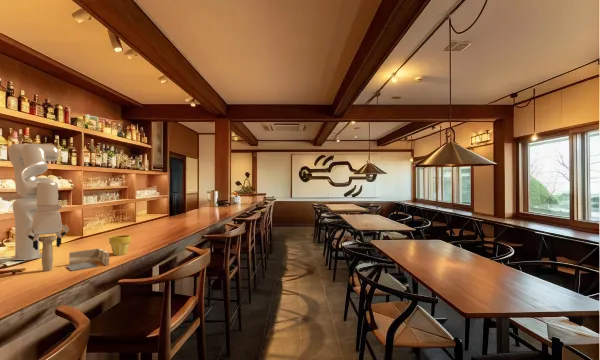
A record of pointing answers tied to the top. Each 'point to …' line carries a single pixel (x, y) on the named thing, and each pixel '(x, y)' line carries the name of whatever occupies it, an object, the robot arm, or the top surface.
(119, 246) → the plant pot
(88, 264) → the coaster
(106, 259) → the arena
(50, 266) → the handle
